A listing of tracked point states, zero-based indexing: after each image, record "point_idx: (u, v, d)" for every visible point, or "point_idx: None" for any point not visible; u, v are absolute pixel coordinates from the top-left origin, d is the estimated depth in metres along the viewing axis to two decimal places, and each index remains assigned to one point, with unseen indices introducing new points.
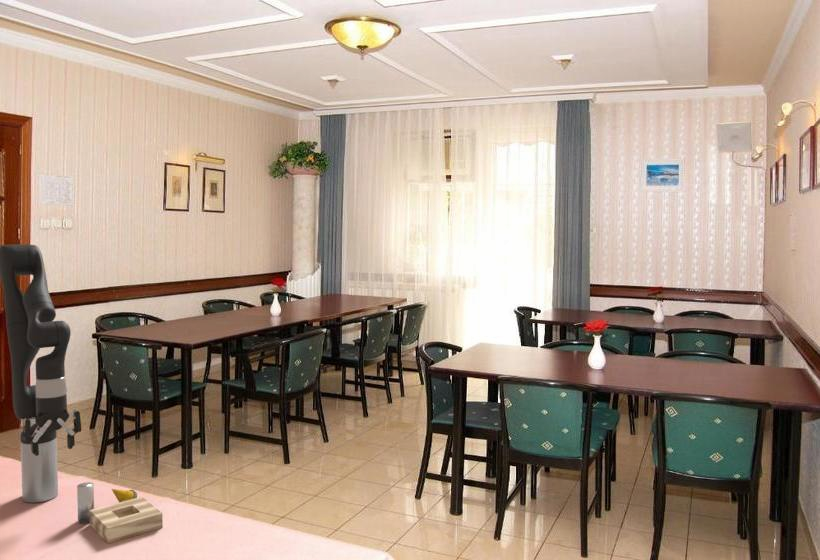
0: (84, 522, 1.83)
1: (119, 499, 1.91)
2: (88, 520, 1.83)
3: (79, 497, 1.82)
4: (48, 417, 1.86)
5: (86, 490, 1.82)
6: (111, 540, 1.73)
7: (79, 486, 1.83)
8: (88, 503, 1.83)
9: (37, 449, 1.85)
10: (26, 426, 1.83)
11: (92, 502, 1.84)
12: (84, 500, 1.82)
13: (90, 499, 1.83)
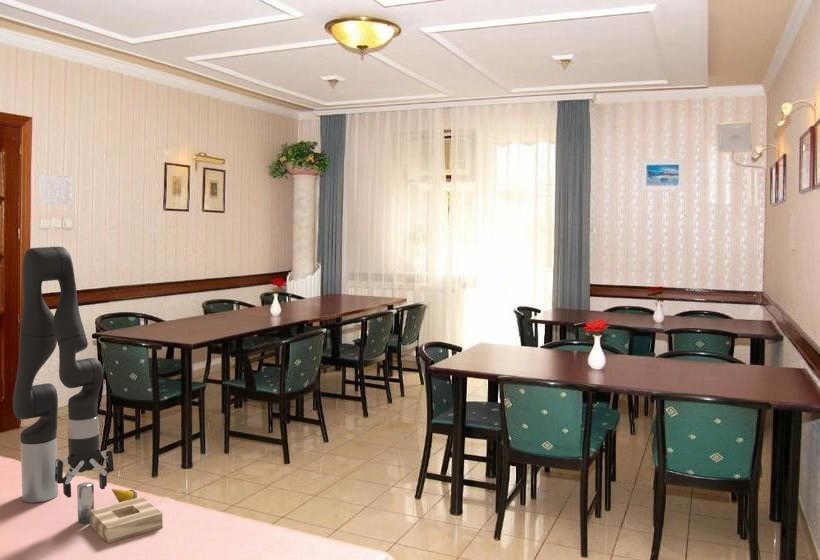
0: (84, 522, 1.83)
1: (119, 499, 1.91)
2: (88, 520, 1.83)
3: (79, 497, 1.82)
4: (81, 458, 1.81)
5: (86, 490, 1.82)
6: (111, 540, 1.73)
7: (79, 486, 1.83)
8: (88, 503, 1.83)
9: (69, 491, 1.80)
10: (59, 468, 1.78)
11: (92, 502, 1.84)
12: (84, 500, 1.82)
13: (90, 499, 1.83)
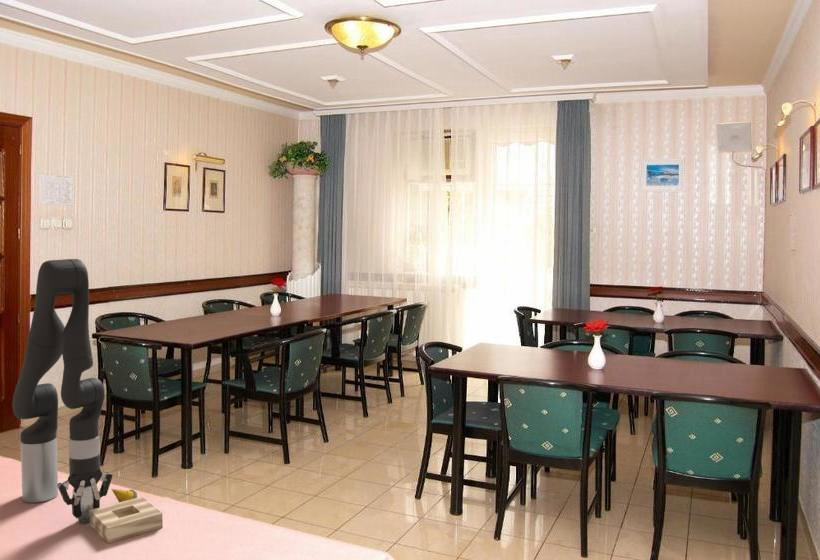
0: (84, 522, 1.83)
1: (119, 499, 1.91)
2: (88, 520, 1.83)
3: None
4: (81, 477, 1.82)
5: (86, 490, 1.82)
6: (111, 540, 1.73)
7: None
8: (88, 503, 1.83)
9: (78, 512, 1.82)
10: (62, 492, 1.79)
11: (92, 502, 1.84)
12: (84, 500, 1.82)
13: (90, 499, 1.83)
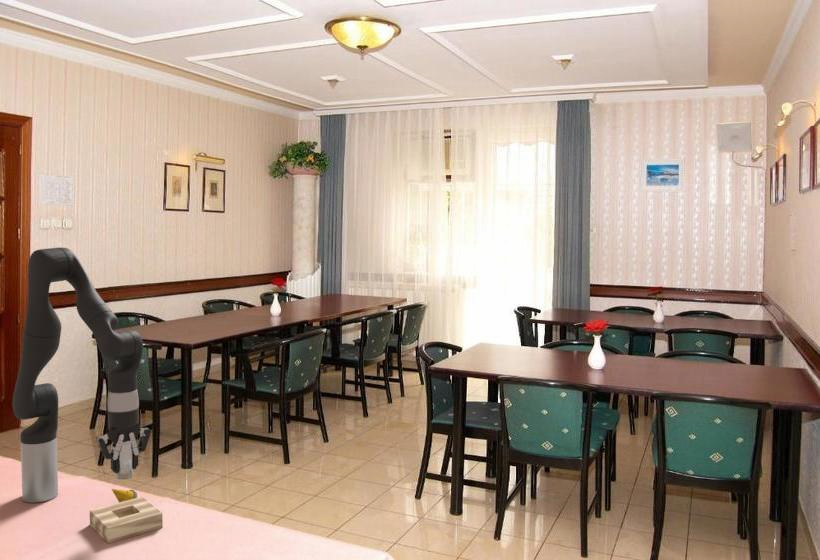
0: (123, 477, 1.79)
1: (119, 499, 1.91)
2: (127, 475, 1.79)
3: None
4: (120, 431, 1.78)
5: (125, 445, 1.78)
6: (111, 540, 1.73)
7: None
8: (127, 457, 1.79)
9: (117, 466, 1.78)
10: (101, 445, 1.75)
11: (131, 457, 1.80)
12: (123, 455, 1.78)
13: (129, 454, 1.79)
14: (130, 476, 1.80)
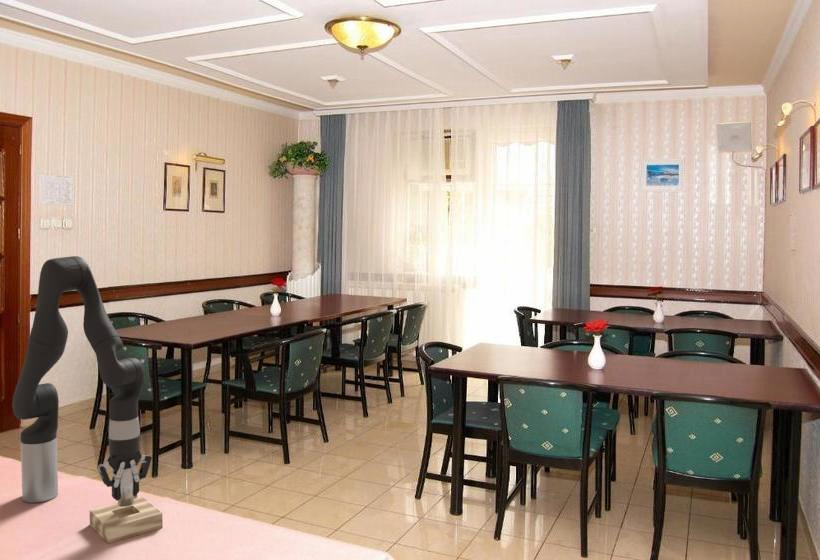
0: (124, 504, 1.80)
1: None
2: (128, 502, 1.80)
3: None
4: (121, 459, 1.79)
5: (126, 472, 1.79)
6: (111, 540, 1.73)
7: None
8: (128, 485, 1.80)
9: (118, 494, 1.79)
10: (103, 473, 1.76)
11: (132, 484, 1.81)
12: (124, 482, 1.79)
13: (130, 481, 1.80)
14: (131, 503, 1.81)
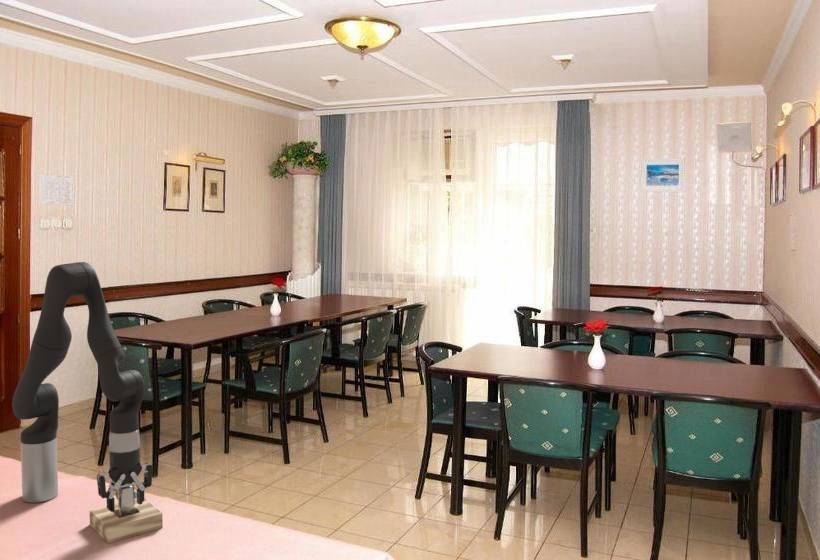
0: None
1: None
2: None
3: (120, 499, 1.80)
4: (122, 471, 1.79)
5: (126, 492, 1.80)
6: (111, 540, 1.73)
7: (120, 487, 1.80)
8: (129, 504, 1.80)
9: (113, 505, 1.78)
10: (101, 483, 1.76)
11: (133, 504, 1.81)
12: (125, 502, 1.80)
13: (131, 501, 1.81)
14: None
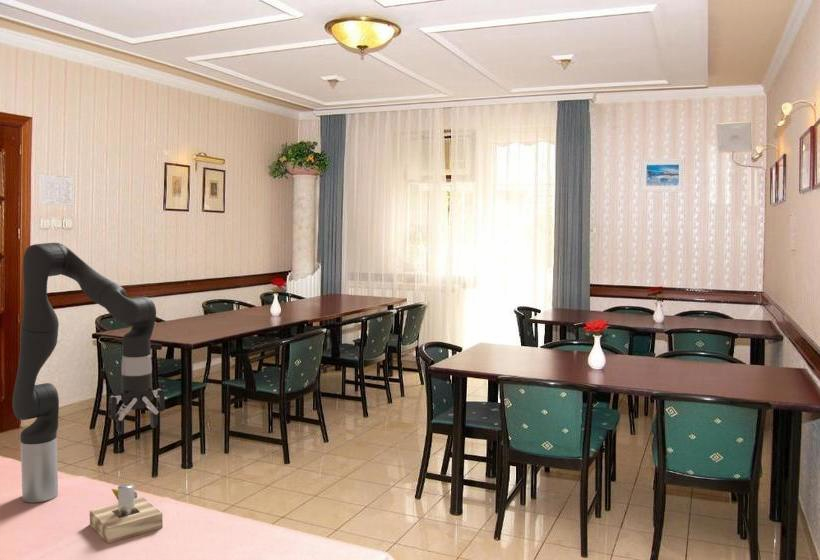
0: None
1: None
2: None
3: (120, 499, 1.80)
4: (133, 395, 1.82)
5: (127, 492, 1.80)
6: (111, 540, 1.73)
7: (120, 487, 1.80)
8: (129, 504, 1.80)
9: (122, 427, 1.81)
10: (112, 404, 1.79)
11: (133, 503, 1.81)
12: (125, 502, 1.80)
13: (131, 501, 1.81)
14: None
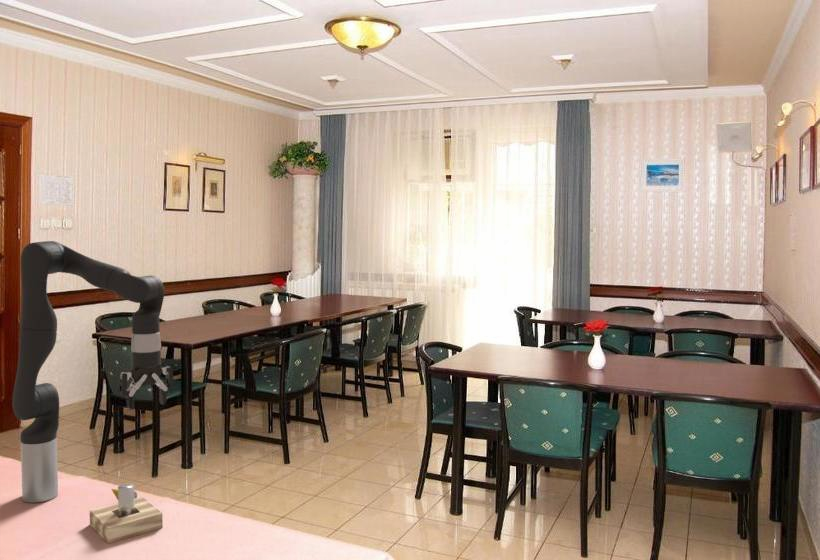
0: None
1: None
2: None
3: (120, 499, 1.80)
4: (143, 372, 1.86)
5: (127, 492, 1.80)
6: (111, 540, 1.73)
7: (120, 487, 1.80)
8: (129, 504, 1.80)
9: (133, 403, 1.85)
10: (123, 380, 1.83)
11: (133, 504, 1.81)
12: (125, 502, 1.80)
13: (131, 501, 1.81)
14: None
